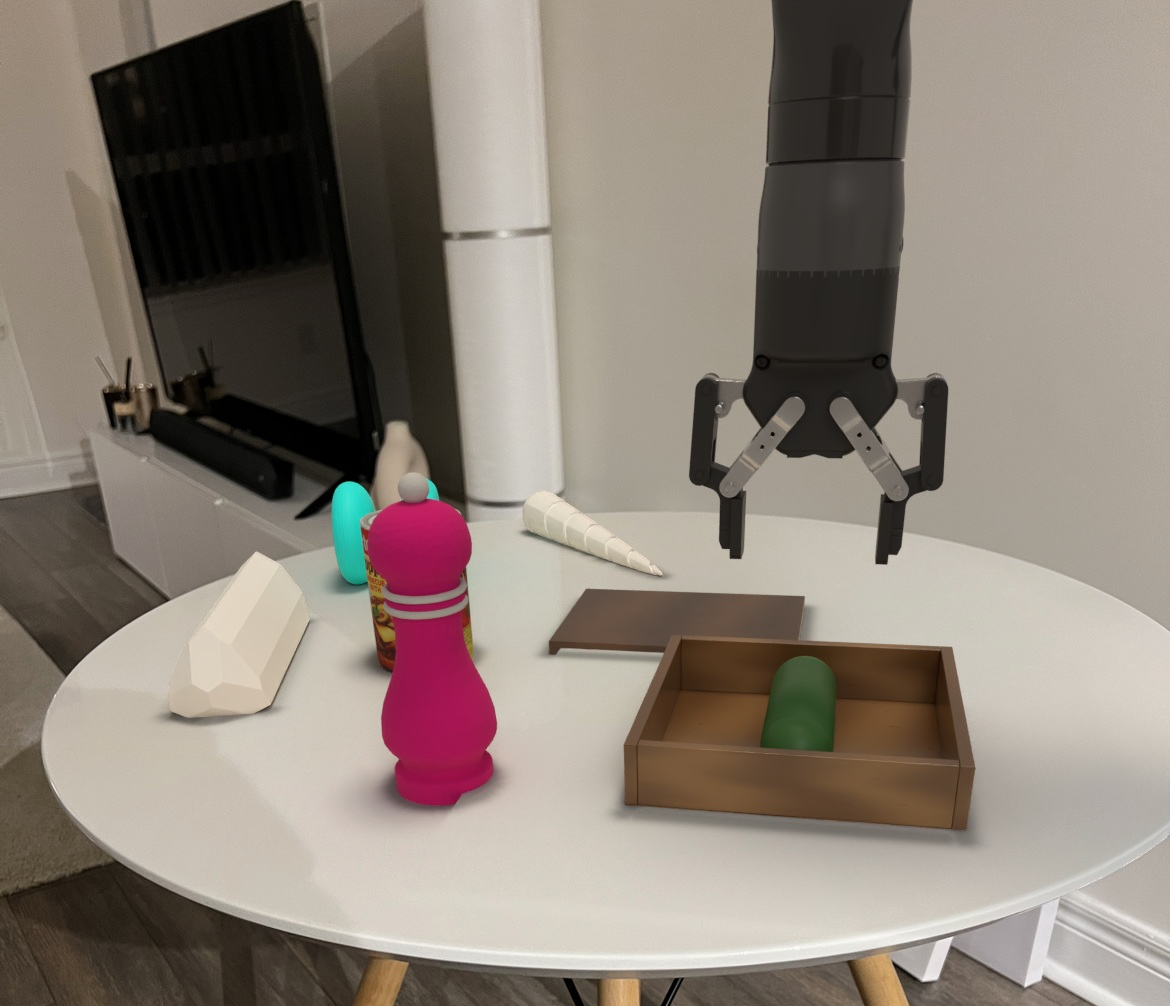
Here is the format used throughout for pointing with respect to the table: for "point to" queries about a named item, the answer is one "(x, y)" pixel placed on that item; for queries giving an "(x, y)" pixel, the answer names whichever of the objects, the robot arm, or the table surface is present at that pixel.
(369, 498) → the donuts
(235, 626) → the crystal
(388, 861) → the table surface
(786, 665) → the cucumber
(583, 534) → the unicorn horn
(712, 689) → the wooden tray
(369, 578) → the canned food
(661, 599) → the cutting board
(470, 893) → the table surface
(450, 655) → the pepper mill
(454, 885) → the table surface
